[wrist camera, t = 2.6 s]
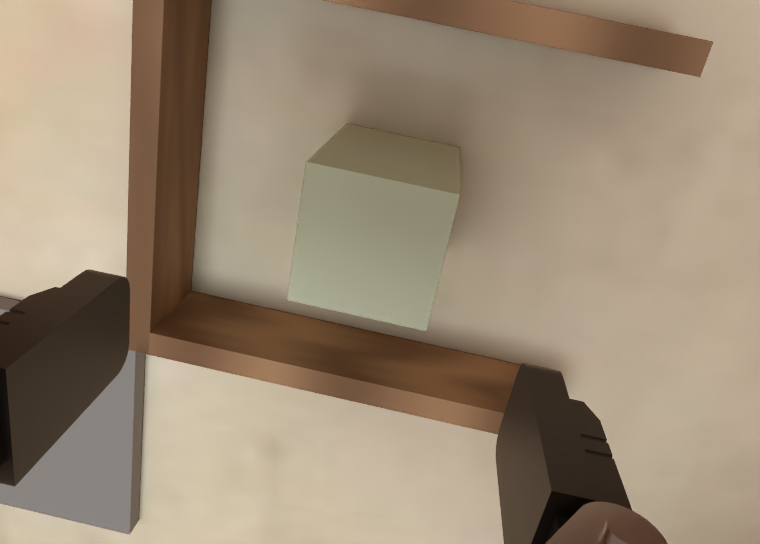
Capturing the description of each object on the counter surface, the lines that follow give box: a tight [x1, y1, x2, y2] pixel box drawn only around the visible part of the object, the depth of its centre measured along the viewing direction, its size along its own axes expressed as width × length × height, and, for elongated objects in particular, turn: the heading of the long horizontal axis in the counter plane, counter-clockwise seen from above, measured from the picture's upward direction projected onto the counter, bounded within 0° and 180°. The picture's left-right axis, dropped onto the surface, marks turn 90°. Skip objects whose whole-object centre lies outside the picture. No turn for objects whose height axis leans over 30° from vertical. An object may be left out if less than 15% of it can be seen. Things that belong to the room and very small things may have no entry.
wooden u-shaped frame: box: [126, 0, 713, 434], centre depth 23 cm, size 18×15×4 cm
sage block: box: [287, 124, 460, 331], centre depth 22 cm, size 4×4×7 cm
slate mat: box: [0, 296, 145, 534], centre depth 31 cm, size 12×12×1 cm
